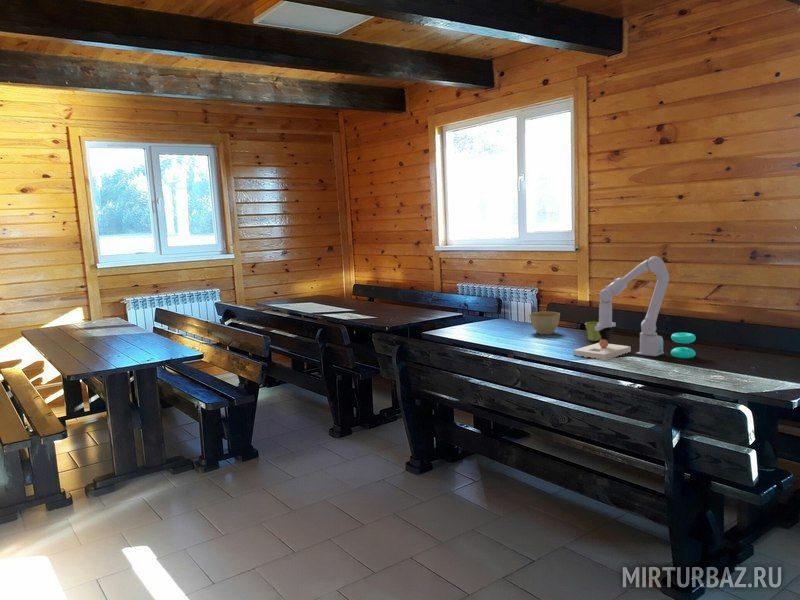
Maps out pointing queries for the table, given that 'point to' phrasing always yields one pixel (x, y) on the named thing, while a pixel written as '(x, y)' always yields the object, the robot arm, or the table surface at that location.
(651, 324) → the robot arm
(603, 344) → the ball
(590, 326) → the plant pot
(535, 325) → the planter bowl
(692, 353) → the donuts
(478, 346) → the table surface
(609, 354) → the deck
